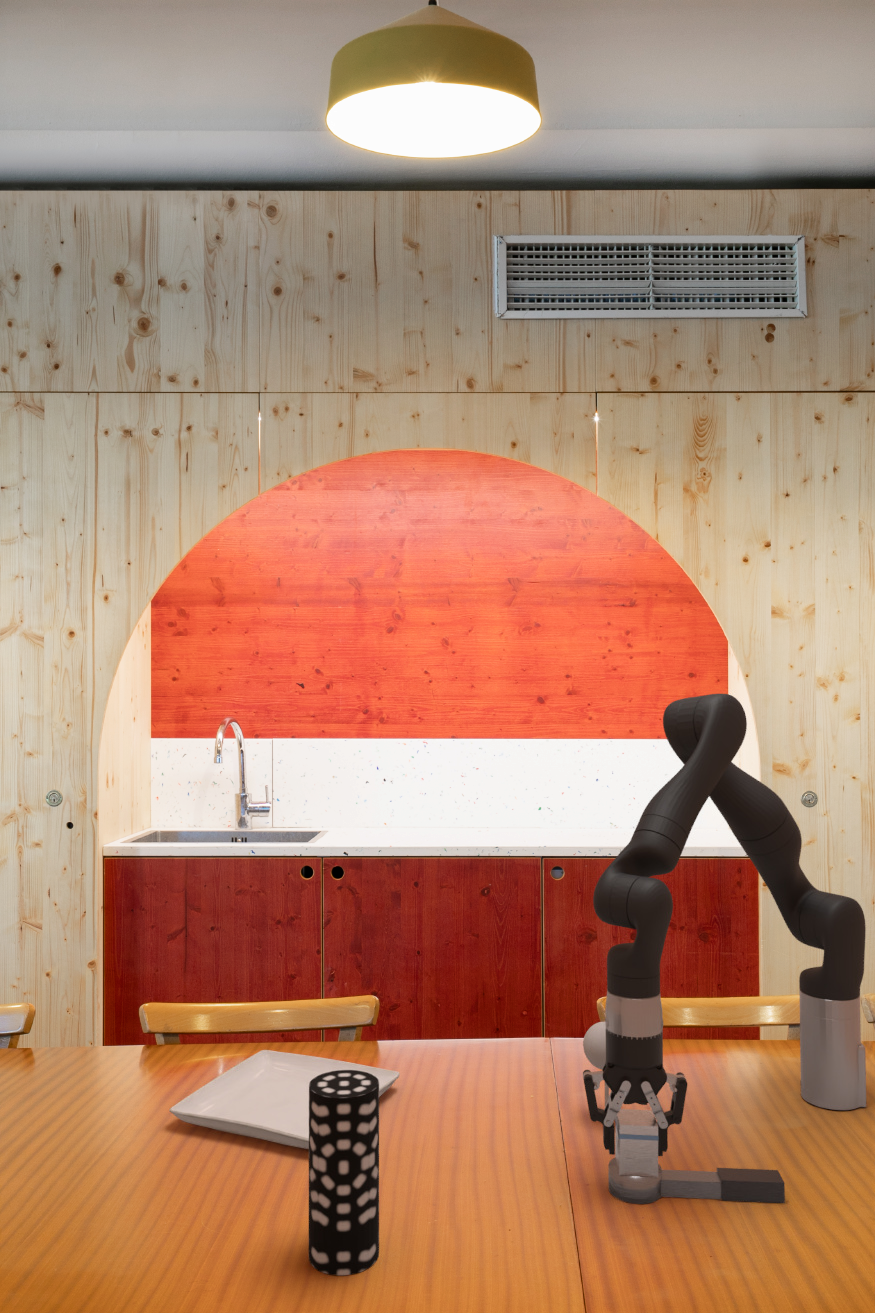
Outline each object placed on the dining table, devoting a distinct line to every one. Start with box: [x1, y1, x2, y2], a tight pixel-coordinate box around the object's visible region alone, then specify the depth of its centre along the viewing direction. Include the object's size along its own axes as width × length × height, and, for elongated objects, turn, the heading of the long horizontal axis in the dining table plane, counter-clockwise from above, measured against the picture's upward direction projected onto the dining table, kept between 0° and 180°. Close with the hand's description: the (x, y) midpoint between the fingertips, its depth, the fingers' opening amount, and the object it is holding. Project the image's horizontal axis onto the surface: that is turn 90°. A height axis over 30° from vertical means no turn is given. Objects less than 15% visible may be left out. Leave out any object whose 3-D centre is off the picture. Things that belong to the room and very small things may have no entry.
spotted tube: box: [308, 1070, 380, 1276], centre depth 116 cm, size 8×8×20 cm
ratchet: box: [607, 1157, 786, 1205], centre depth 130 cm, size 22×7×7 cm, turn 85°
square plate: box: [169, 1049, 401, 1150], centre depth 156 cm, size 27×27×4 cm
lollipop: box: [582, 1020, 610, 1107], centre depth 152 cm, size 7×7×15 cm
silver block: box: [614, 1108, 659, 1177], centre depth 131 cm, size 5×5×6 cm
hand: (635, 1152), depth 131 cm, fingers open, 5 cm apart
